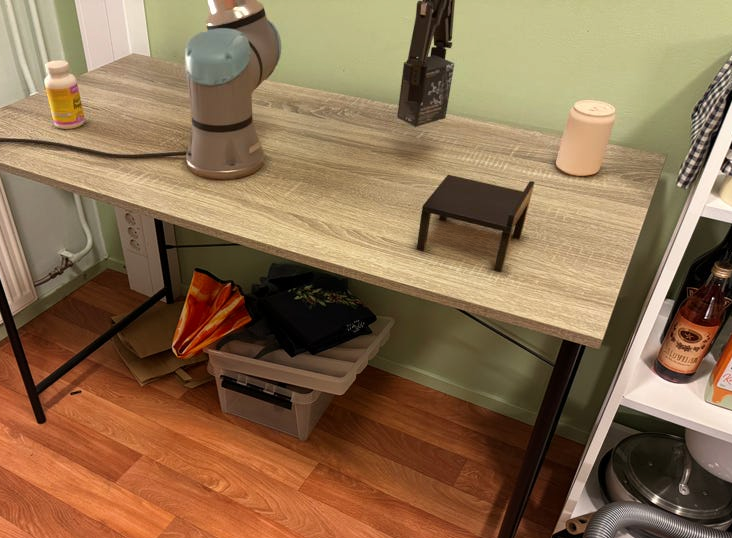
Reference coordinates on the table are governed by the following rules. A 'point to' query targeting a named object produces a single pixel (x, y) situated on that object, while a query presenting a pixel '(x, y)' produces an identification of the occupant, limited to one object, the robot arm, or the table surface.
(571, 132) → the beverage can
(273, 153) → the table surface
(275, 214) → the table surface
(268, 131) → the table surface
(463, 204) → the small dark brown table
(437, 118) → the box
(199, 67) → the robot arm
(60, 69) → the supplement bottle
